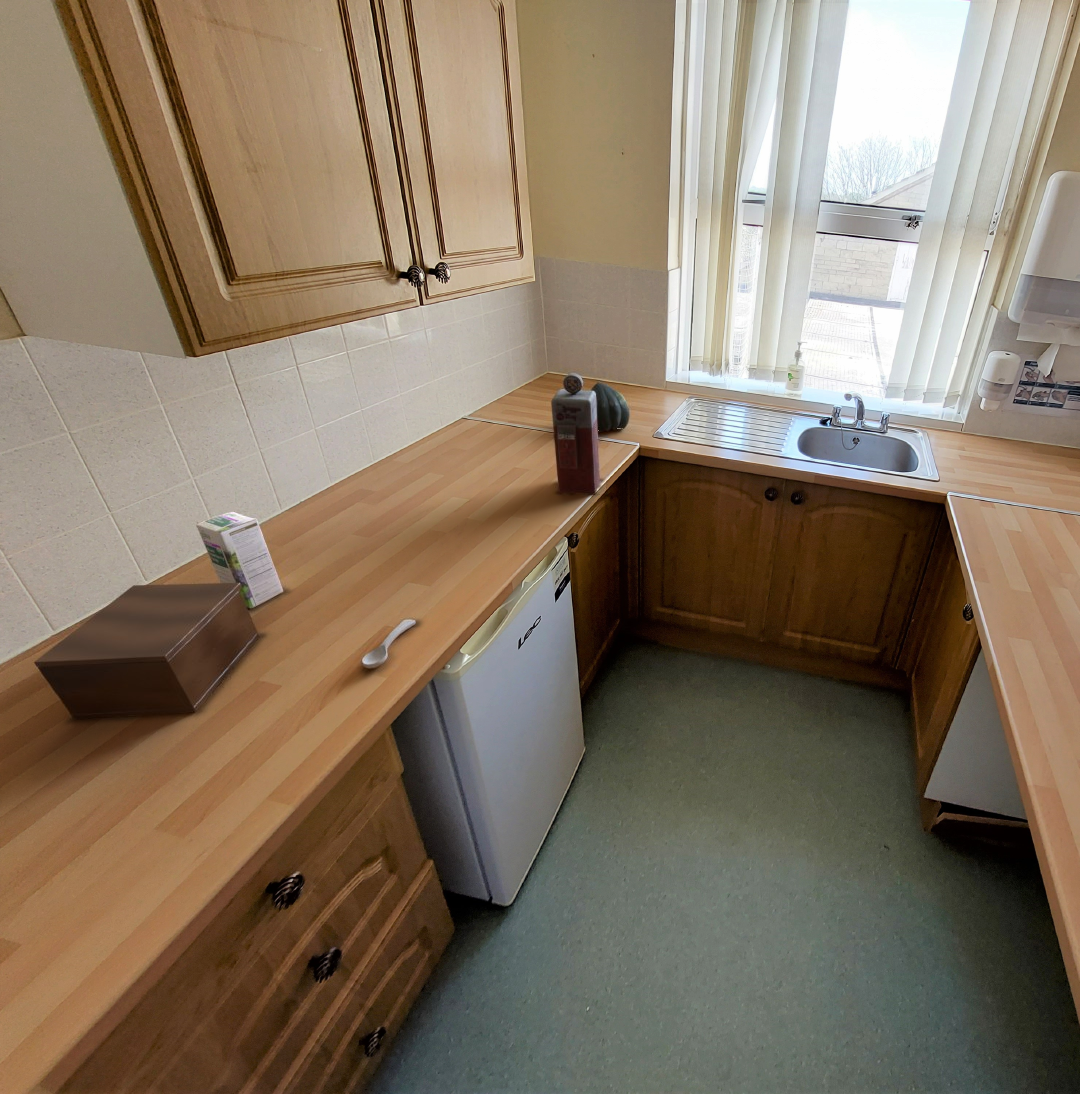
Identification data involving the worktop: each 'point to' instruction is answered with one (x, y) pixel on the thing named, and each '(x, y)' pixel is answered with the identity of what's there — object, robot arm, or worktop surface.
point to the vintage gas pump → (576, 437)
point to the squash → (610, 408)
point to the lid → (141, 625)
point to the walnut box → (159, 672)
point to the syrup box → (241, 556)
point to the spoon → (385, 646)
